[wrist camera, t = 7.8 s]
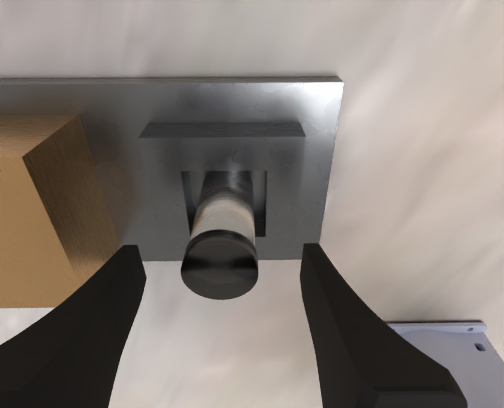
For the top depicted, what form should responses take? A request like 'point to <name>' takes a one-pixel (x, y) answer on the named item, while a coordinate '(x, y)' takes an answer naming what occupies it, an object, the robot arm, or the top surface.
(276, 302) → the top surface
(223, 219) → the shiny metal cylinder
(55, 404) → the robot arm
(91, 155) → the square socket plate
